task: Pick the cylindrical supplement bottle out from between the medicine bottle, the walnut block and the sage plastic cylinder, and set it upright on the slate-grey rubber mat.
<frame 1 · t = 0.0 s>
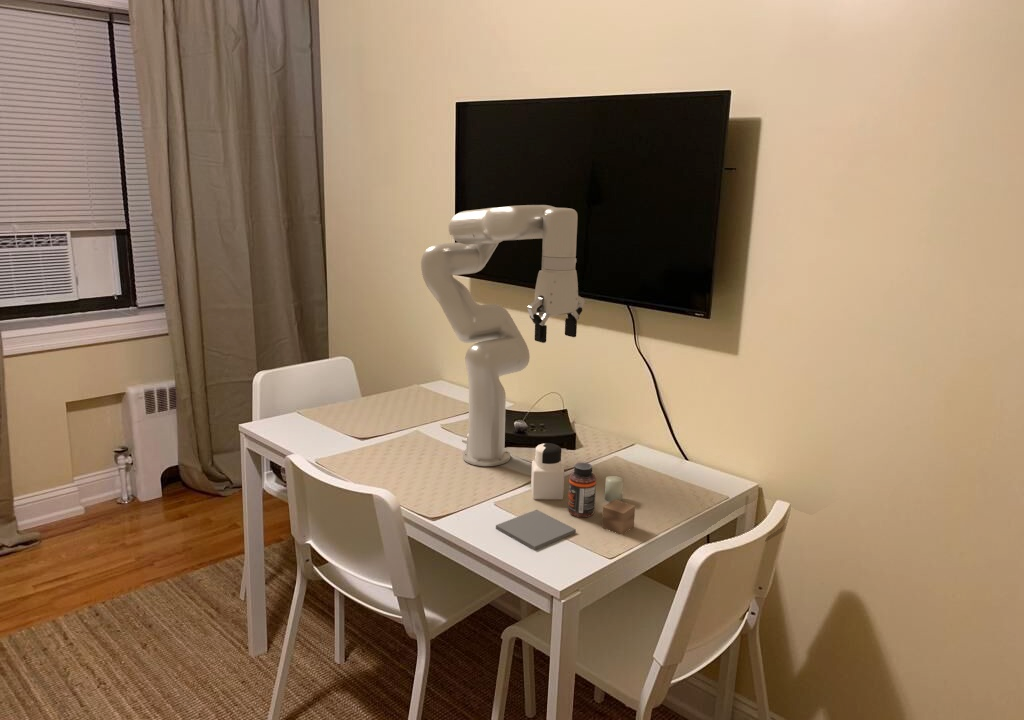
hand: (555, 338, 173), 37 cm above the table, tool pointing down, fingers open, 9 cm apart
supplement bottle: (580, 513, 170), on the table
slate mat: (535, 530, 160), on the table
walnut block: (617, 527, 163), on the table
medicine bottle: (546, 494, 179), on the table
sage cylinder: (613, 499, 177), on the table
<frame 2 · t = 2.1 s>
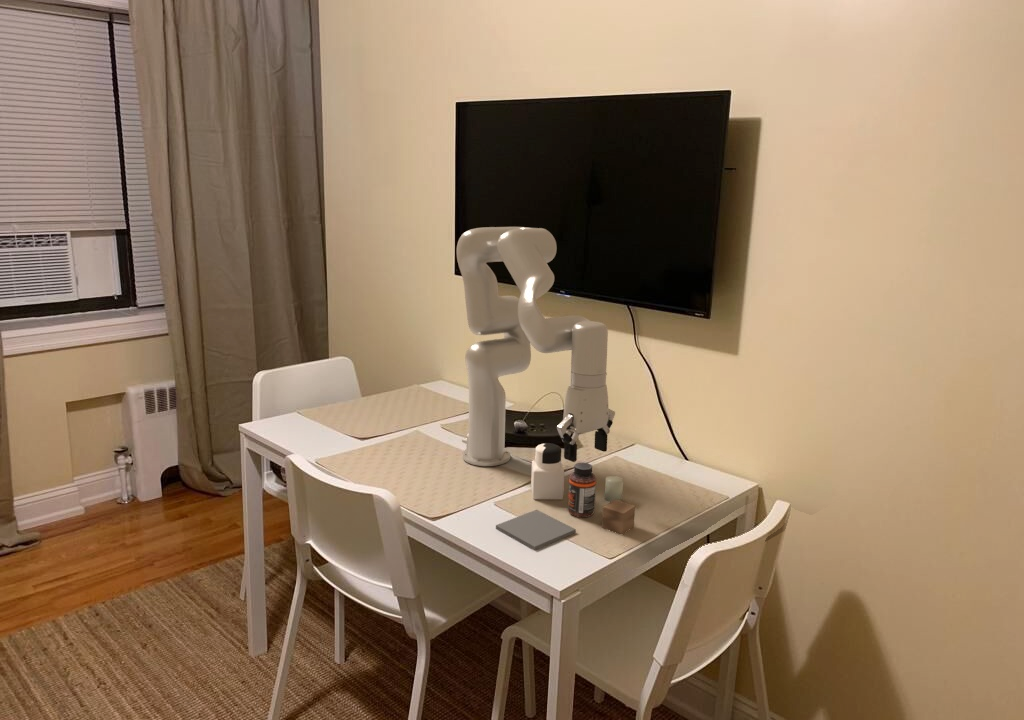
hand: (585, 454, 165), 14 cm above the table, tool pointing down, fingers open, 9 cm apart
nothing on the table moved.
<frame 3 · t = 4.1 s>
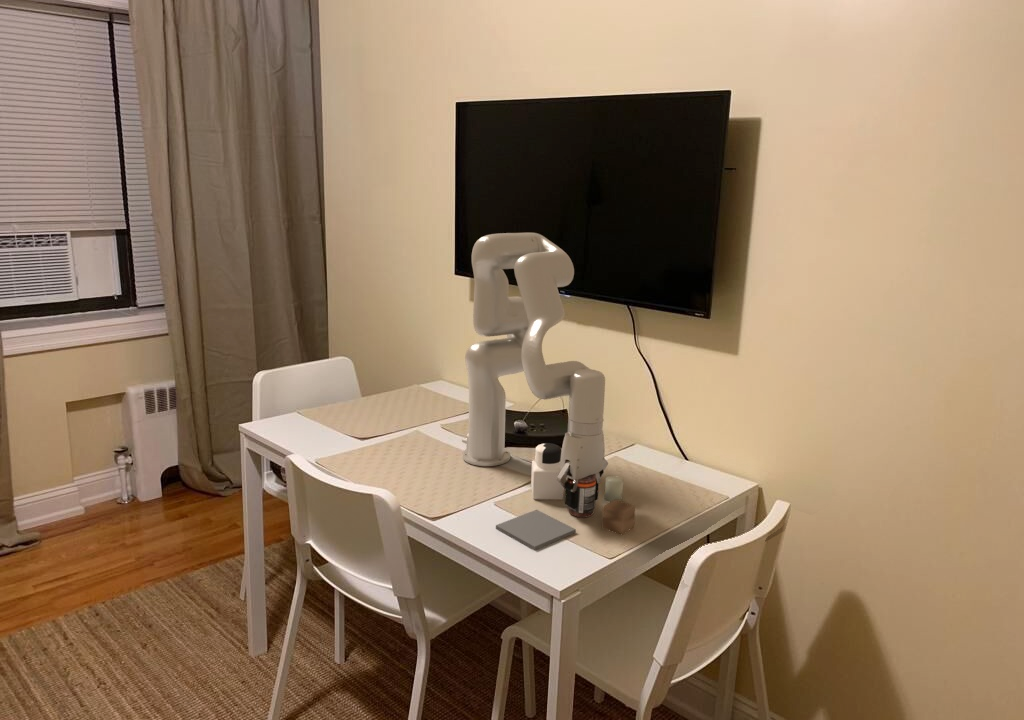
hand: (581, 501, 169), 3 cm above the table, tool pointing down, fingers closed on supplement bottle, 6 cm apart
supplement bottle: (580, 513, 170), on the table, touching gripper
everything else where it was.
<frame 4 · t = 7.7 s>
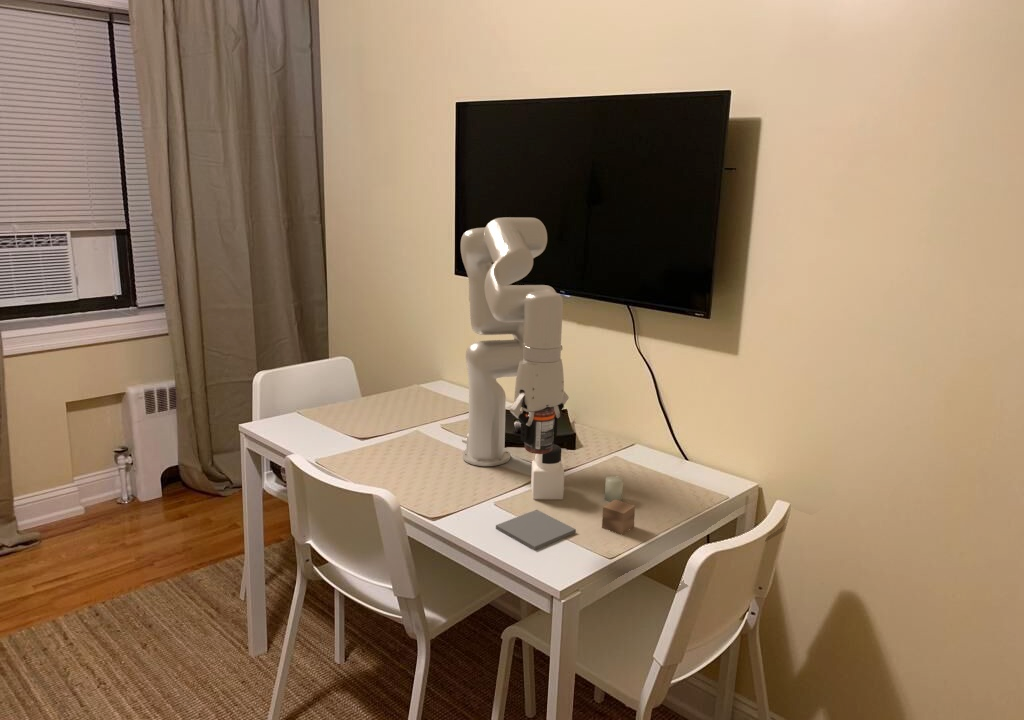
hand: (538, 437, 155), 21 cm above the table, tool pointing down, fingers closed on supplement bottle, 6 cm apart
supplement bottle: (538, 450, 156), point 18 cm above the table, touching gripper
everything else where it was.
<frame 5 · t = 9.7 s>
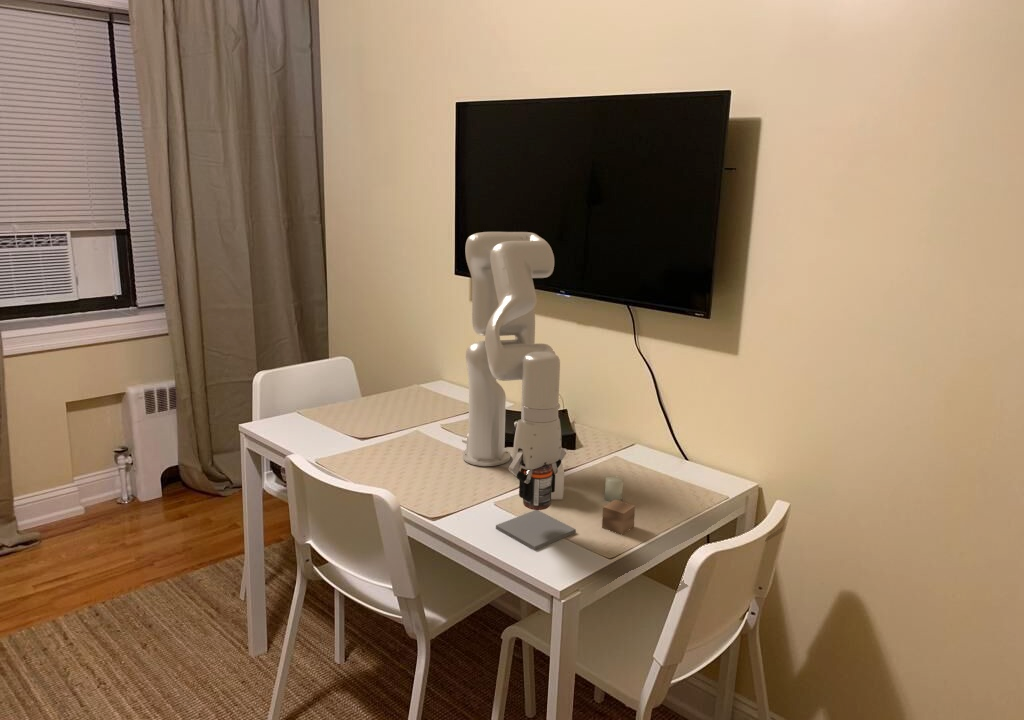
hand: (536, 493, 158), 9 cm above the table, tool pointing down, fingers closed on supplement bottle, 6 cm apart
supplement bottle: (536, 506, 159), point 6 cm above the table, touching gripper
everything else where it was.
when the fingers open (5 cm above the table, at t = 11.4 s): supplement bottle drops 1 cm, resting on slate mat.
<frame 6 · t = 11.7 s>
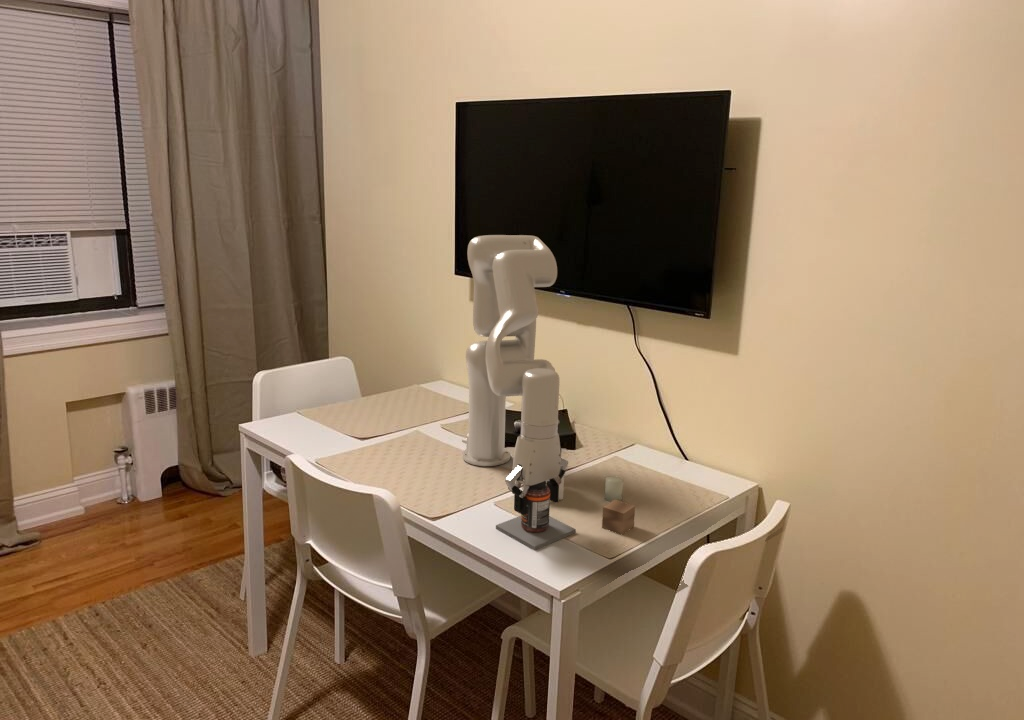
hand: (536, 506, 159), 6 cm above the table, tool pointing down, fingers open, 8 cm apart
supplement bottle: (534, 528, 160), point 1 cm above the table, touching slate mat
everything else where it was.
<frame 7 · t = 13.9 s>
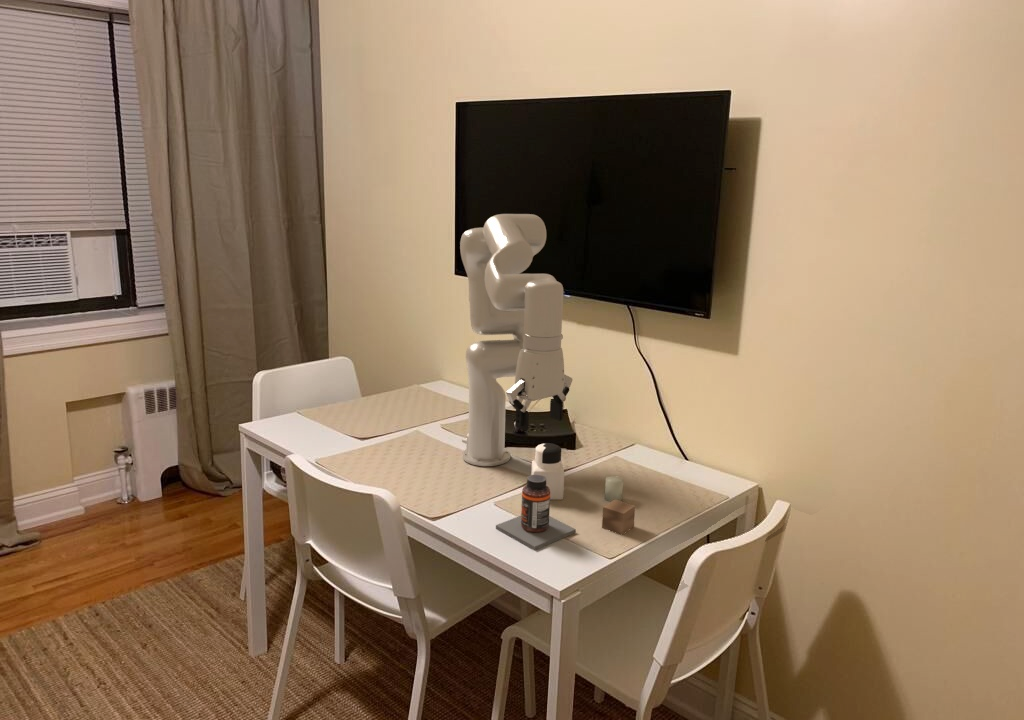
hand: (539, 423, 154), 24 cm above the table, tool pointing down, fingers open, 9 cm apart
nothing on the table moved.
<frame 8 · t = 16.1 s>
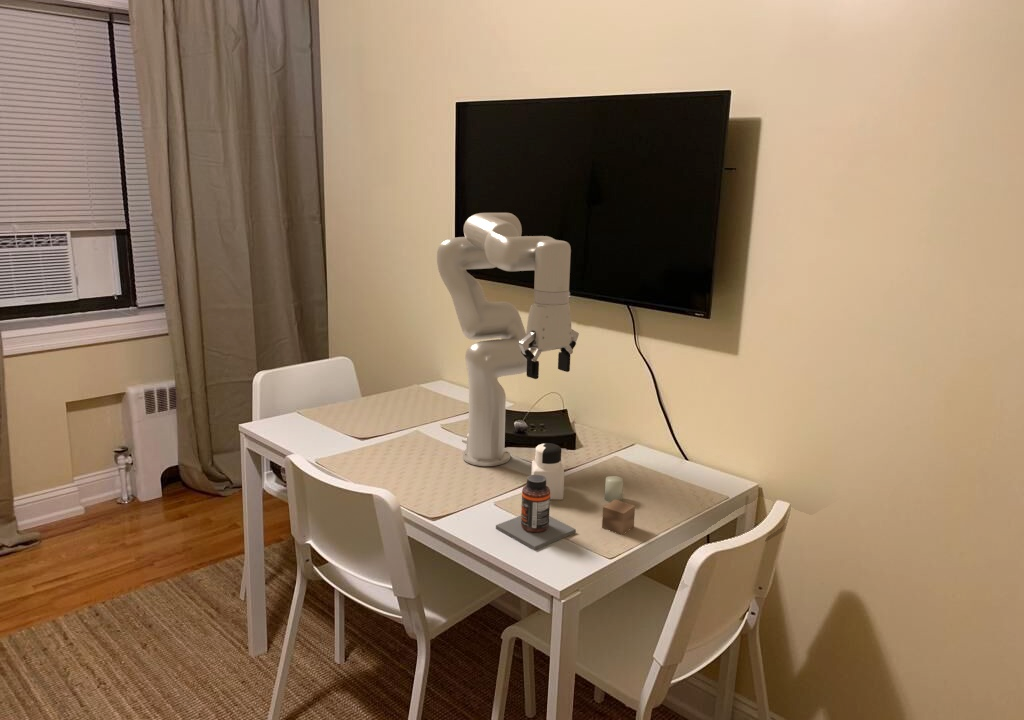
hand: (548, 374, 168), 30 cm above the table, tool pointing down, fingers open, 9 cm apart
nothing on the table moved.
at the end: supplement bottle inside the target area on the slate mat (0.1 cm from its centre), point 0.6 cm above the slate mat's base; supplement bottle tilted 0°; the gripper is holding nothing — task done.
